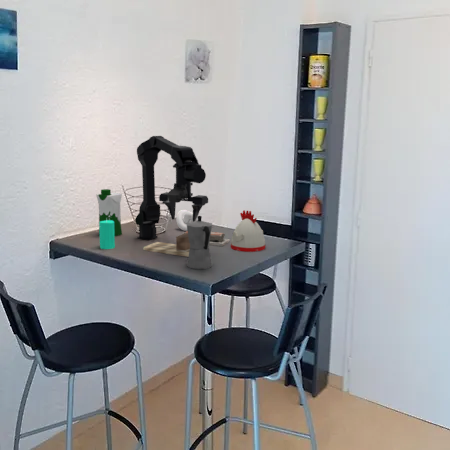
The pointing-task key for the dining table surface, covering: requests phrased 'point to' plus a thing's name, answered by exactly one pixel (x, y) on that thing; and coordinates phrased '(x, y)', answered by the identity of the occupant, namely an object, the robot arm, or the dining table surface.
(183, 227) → the white knot sculpture
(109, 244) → the candle
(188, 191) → the robot arm
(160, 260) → the dining table surface
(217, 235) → the packaged product
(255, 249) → the kitchen timer
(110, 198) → the milk carton
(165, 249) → the board
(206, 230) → the coffeepot
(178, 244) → the block
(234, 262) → the dining table surface
